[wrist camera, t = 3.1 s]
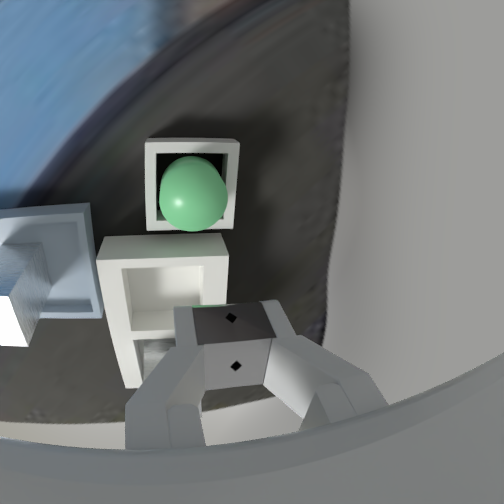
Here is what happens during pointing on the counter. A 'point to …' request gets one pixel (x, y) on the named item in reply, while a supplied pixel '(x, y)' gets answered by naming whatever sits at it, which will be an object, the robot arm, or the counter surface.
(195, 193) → the button
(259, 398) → the counter surface
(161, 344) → the block
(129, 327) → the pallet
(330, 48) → the counter surface
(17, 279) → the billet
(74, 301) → the tote
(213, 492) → the robot arm
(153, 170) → the button housing
